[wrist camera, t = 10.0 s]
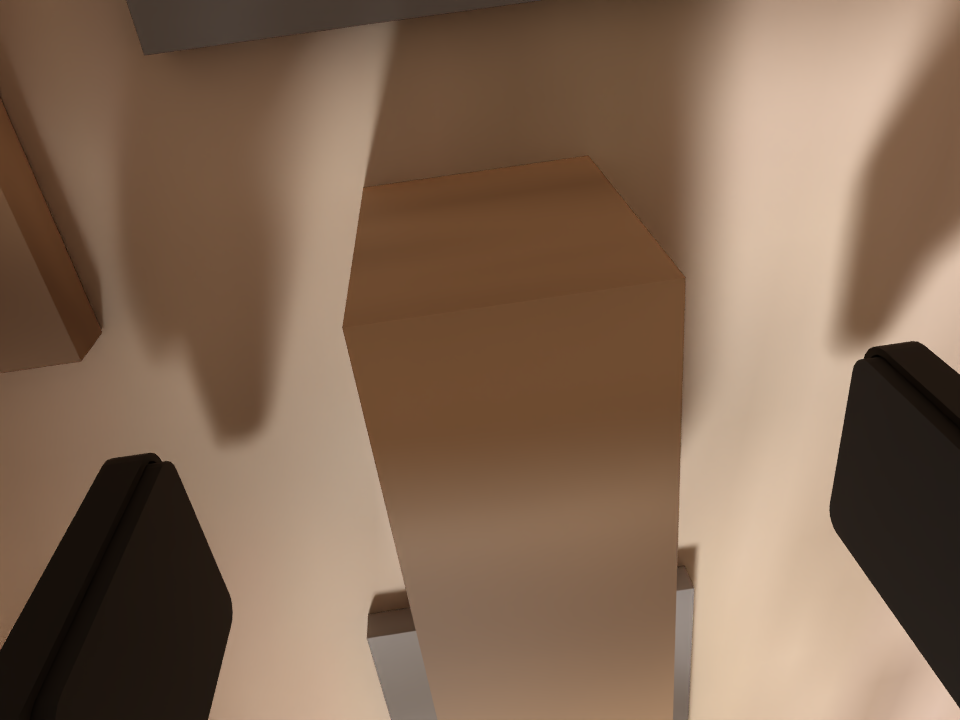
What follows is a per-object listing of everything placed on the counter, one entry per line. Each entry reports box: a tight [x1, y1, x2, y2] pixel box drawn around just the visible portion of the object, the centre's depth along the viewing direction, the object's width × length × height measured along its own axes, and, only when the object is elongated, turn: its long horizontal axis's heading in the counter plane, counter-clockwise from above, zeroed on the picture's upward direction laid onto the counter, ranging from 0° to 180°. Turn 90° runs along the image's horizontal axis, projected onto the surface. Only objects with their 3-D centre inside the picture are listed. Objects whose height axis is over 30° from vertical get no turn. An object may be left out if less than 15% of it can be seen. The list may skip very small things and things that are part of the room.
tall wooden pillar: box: [342, 156, 694, 720], centre depth 12 cm, size 14×6×4 cm, turn 7°
